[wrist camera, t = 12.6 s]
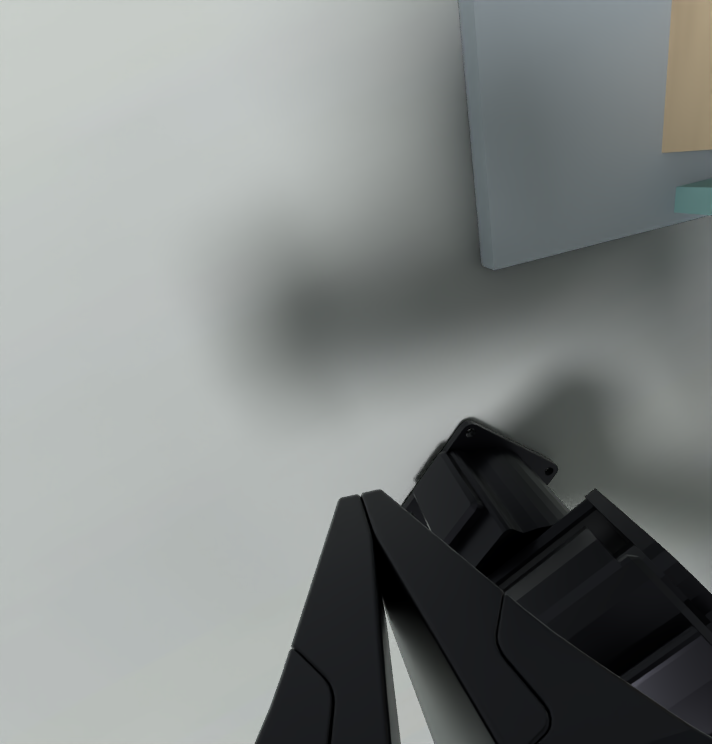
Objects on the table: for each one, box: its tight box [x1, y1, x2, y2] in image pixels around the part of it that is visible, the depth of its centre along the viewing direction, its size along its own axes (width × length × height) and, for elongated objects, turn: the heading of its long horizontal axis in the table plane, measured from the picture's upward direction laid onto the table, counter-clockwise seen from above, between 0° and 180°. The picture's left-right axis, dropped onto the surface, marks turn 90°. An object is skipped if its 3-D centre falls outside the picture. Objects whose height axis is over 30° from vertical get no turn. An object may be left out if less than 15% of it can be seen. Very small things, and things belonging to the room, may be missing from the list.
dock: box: [458, 0, 712, 270], centre depth 16 cm, size 15×11×4 cm
